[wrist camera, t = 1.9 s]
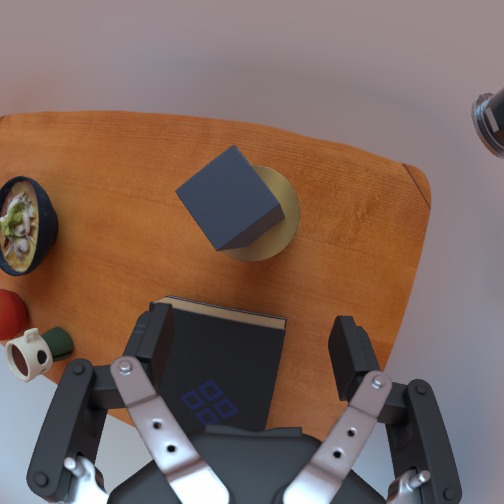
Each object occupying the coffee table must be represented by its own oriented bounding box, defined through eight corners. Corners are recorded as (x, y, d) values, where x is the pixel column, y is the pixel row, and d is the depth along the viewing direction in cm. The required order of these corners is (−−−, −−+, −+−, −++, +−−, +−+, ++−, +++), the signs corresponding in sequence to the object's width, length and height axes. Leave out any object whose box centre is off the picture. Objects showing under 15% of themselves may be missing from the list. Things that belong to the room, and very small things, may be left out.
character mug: (73, 373, 47) (29, 398, 34) (49, 354, 48) (5, 374, 35) (80, 327, 46) (30, 346, 33) (54, 308, 47) (5, 322, 34)
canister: (293, 186, 40) (293, 159, 26) (301, 250, 40) (305, 256, 26) (230, 194, 41) (199, 172, 27) (236, 257, 42) (208, 266, 28)
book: (161, 427, 45) (146, 447, 38) (169, 293, 43) (149, 302, 36) (258, 451, 42) (253, 476, 36) (287, 316, 41) (285, 330, 34)
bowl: (76, 272, 46) (36, 278, 36) (21, 271, 48) (-14, 276, 38) (75, 175, 45) (37, 164, 35) (21, 189, 47) (-14, 184, 38)
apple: (15, 277, 48) (-26, 283, 37) (38, 309, 48) (-3, 320, 36) (5, 311, 50) (-32, 320, 38) (28, 342, 49) (-10, 356, 37)
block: (285, 217, 27) (280, 203, 17) (245, 247, 27) (216, 251, 17) (255, 177, 27) (233, 143, 17) (216, 207, 27) (174, 190, 17)
